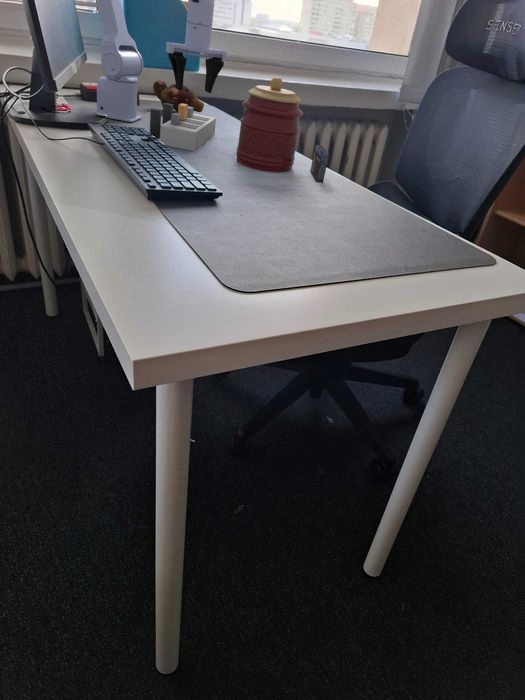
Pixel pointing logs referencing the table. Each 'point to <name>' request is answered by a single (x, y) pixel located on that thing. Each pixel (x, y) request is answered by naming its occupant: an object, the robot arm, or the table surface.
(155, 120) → the disc
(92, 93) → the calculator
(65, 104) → the fitness band
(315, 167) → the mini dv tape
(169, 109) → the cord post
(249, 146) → the canister
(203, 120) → the breaker panel
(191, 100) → the decorative turtle
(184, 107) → the block
